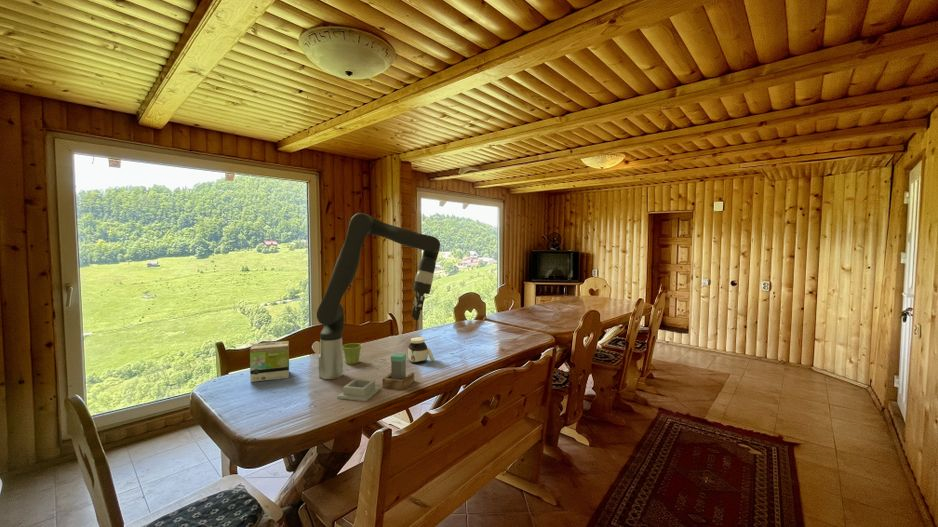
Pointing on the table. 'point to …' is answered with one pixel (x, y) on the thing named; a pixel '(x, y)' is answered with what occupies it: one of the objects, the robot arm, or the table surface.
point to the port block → (359, 390)
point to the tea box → (269, 361)
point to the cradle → (397, 382)
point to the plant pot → (352, 352)
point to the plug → (398, 366)
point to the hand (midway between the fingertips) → (414, 318)
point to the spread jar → (419, 351)
